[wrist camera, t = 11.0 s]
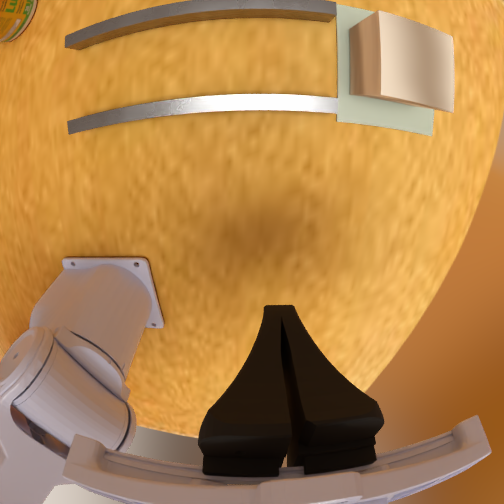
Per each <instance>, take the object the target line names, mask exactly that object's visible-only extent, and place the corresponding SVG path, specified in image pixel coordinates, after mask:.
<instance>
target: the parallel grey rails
mask: <svg viewBox="0 0 504 504" xmlns="http://www.w3.org/2000/svg"><path fill="white" fill-rule="evenodd" d="M336 15H337V7H336V2H332V1H325V0H190V1H184V2H178V3H172V4H166V5H161V6H157V7H152V8H148V9H143V10H139V11H136V12H132V13H128V14H125V15H121V16H118V17H115V18H111V19H108V20H105V21H102V22H100V23H97V24H94V25H91V26H89V27H86V28H83V29H81V30H78V31H76V32H74V33H71V34H69V35H67V36H65V48H70V49H77V50H80V49H83V48H86V47H89V46H91V45H94V44H97V43H100V42H103V41H106V40H110V39H113V38H116V37H120V36H123V35H127V34H131V33H135V32H139V31H143V30H148V29H152V28H157V27H162V26H168V25H174V24H180V23H187V22H194V21H203V20H213V19H226V18H290V19H304V20H314V21H322V22H330V21H331V20H332V19H333V18H334V17H335V16H336ZM233 110H290V111H311V112H325V113H336V114H338V98H331V97H320V96H307V95H287V94H235V95H215V96H201V97H190V98H181V99H173V100H165V101H158V102H151V103H145V104H139V105H134V106H128V107H123V108H118V109H114V110H109V111H105V112H100V113H96V114H92V115H88V116H85V117H81V118H77V119H74V120H70V121H67V123H68V132H69V134H73V133H77V132H81V131H85V130H89V129H93V128H98V127H102V126H107V125H112V124H117V123H122V122H128V121H134V120H140V119H146V118H153V117H161V116H169V115H177V114H187V113H199V112H213V111H233Z"/></svg>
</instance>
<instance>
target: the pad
mask: <svg viewBox="0 0 504 504" xmlns="http://www.w3.org/2000/svg"><path fill="white" fill-rule="evenodd" d="M336 7H337V15H336V32H337V98H338V114H337V117H336V121H337V122H348V123H357V124H365V125H372V126H379V127H386V128H392V129H398V130H404V131H409V132H414V133H419V134H424V135H429V136H432V132H433V120H434V109H428V108H422V107H415V106H410V105H405V104H401V103H396V102H391V101H386V100H380V99H374V98H368V97H362V96H355V95H350V35H349V29H350V28H351V27H353V26H354V25H356V24H357V23H359V22H360V21H362V20H364V19H365V18H367V17H368V16H370V15H371V14H373V13H375V12H372V11H368V10H364V9H359V8H354V7H349V6H344V5H338V4H336Z"/></svg>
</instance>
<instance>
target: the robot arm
mask: <svg viewBox="0 0 504 504" xmlns="http://www.w3.org/2000/svg"><path fill="white" fill-rule="evenodd" d="M73 262H74V263H75V264H74V263H73ZM135 262H137V263H139V265H137V264H136V263H135ZM62 264H63V267H64V270H63V271H62V272H61V273H60V275H59V276H58V277H57V278H56V279H55V281H54V282H53V283H52V284H51V285H50V287H49V288H48V289H47V290H46V292H45V293H44V294H43V295H42V297H41V298H40V299H39V301H38V302H37V303H36V305H35V306H34V308H33V311H32V314H31V318H30V325H29V329H28V330H27V331H25V332H24V333H23V334H22V335H21V336H20V337H19V338H18V339H17V340H16V341H15V342H14V343H13V344H12V345H11V347H10V348H9V349H8V351H7V352H6V354H5V355H4V357H3V358H2V360H1V362H0V504H42V503H43V502H44V500H45V499H46V498H47V496H48V495H49V493H50V492H51V491H52V489H53V488H54V486H56V485H63V484H76V485H78V486H80V487H82V488H84V489H86V490H88V491H90V492H93V493H96V494H99V495H102V496H104V497H107V498H110V499H113V500H117V501H120V502H123V503H126V504H388V502H391V501H394V500H397V499H400V498H403V497H406V496H408V495H411V494H414V493H417V492H419V491H421V490H424V489H426V488H429V487H431V486H433V485H436V484H438V483H440V482H442V481H445V480H446V479H449V478H451V477H453V476H455V475H457V474H459V473H461V472H463V471H464V470H466V469H468V468H469V467H471V466H473V465H474V464H476V463H477V462H479V461H480V460H482V459H483V458H485V457H486V456H487V455H489V454H490V453H491V449H490V446H489V443H488V440H487V438H486V435H485V432H484V430H483V427H482V425H481V422H480V420H479V417H478V415H476V416H473V417H471V418H469V419H467V420H464V421H462V422H461V423H459V424H458V425H456V426H455V427H454V428H453V429H452V430H451V431H449V432H446V433H444V434H441V435H439V436H436V437H433V438H430V439H428V440H425V441H422V442H419V443H415V444H412V445H409V446H406V447H402V448H399V449H395V450H392V451H388V452H384V453H380V454H376V453H375V449H374V445H375V444H376V441H375V437H374V436H375V435H376V434H377V432H378V431H379V430H380V429H381V428H382V426H383V424H384V418H383V415H382V412H381V410H380V408H379V405H378V404H377V401H375V400H374V399H372V398H370V397H369V396H368V395H366V394H365V393H363V392H362V391H361V390H359V389H358V388H357V387H355V386H354V385H353V384H352V383H351V382H350V381H348V380H347V379H346V378H345V377H344V376H343V375H342V374H341V373H340V372H339V371H338V370H337V369H336V368H335V367H334V366H333V365H332V364H331V363H330V362H329V361H328V359H327V358H326V357H325V356H324V355H323V353H322V352H321V351H320V349H319V348H318V347H317V345H316V344H315V343H314V341H313V340H312V338H311V337H310V335H309V334H308V332H307V330H306V329H305V327H304V325H303V324H302V322H301V320H300V318H299V316H298V314H297V312H296V310H295V307H294V306H293V305H266V306H265V307H264V314H263V319H262V323H261V327H260V330H259V333H258V336H257V338H256V341H255V343H254V345H253V348H252V350H251V352H250V354H249V356H248V358H247V360H246V362H245V363H244V365H243V367H242V369H241V370H240V372H239V373H238V375H237V376H236V378H235V379H234V381H233V382H232V383H231V385H230V386H229V387H228V389H227V390H226V391H225V392H224V394H223V395H222V396H221V397H220V398H219V399H218V400H217V402H216V403H215V404H214V405H213V406H212V407H211V408H210V409H209V410H208V412H207V414H206V416H205V418H204V420H203V422H202V425H201V428H200V432H199V439H198V446H199V447H200V449H201V451H202V453H203V455H204V457H203V466H199V465H189V464H181V463H173V462H168V461H162V460H156V459H150V458H145V457H141V456H136V455H131V454H127V453H125V452H126V451H127V450H128V449H129V447H130V445H131V443H132V441H133V438H134V436H135V432H136V415H135V412H134V409H133V408H132V406H131V405H130V404H129V403H128V402H127V400H128V397H129V394H130V389H129V388H128V387H127V386H126V385H125V380H126V377H127V375H128V372H129V369H130V366H131V363H132V361H133V358H134V355H135V352H136V350H137V347H138V344H139V342H140V339H141V336H142V334H143V331H144V329H145V327H146V328H163V327H164V320H163V317H162V313H161V310H160V306H159V303H158V299H157V295H156V291H155V288H154V284H153V280H152V276H151V271H150V267H149V263H148V261H147V260H146V259H145V258H64V259H63V260H62ZM154 323H155V324H154ZM286 454H287V467H284V468H281V466H282V464H283V460H284V457H286ZM227 484H238V485H236V486H228V485H227Z"/></svg>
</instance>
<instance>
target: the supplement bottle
mask: <svg viewBox="0 0 504 504" xmlns="http://www.w3.org/2000/svg"><path fill="white" fill-rule="evenodd" d="M36 4H37V0H0V42H9V41H12V40H13V39H15V38H16V37H18V36H19V35H20V34H21V33H22V32H23V30H24V29H25V28H26V27H27V25H28V24H29V22H30V20H31V18H32V16H33V14H34V12H35V9H36Z"/></svg>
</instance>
